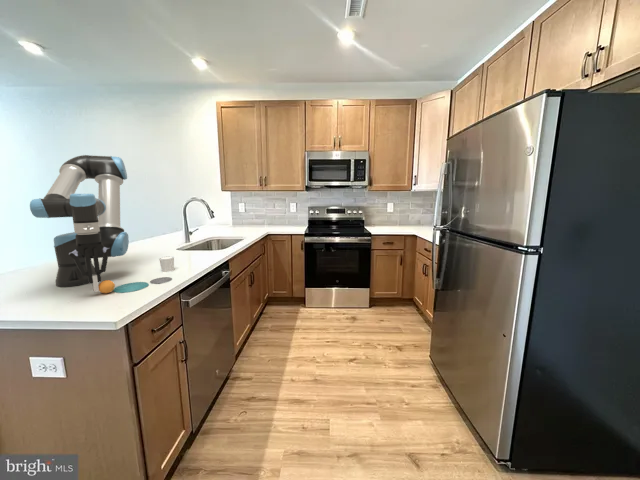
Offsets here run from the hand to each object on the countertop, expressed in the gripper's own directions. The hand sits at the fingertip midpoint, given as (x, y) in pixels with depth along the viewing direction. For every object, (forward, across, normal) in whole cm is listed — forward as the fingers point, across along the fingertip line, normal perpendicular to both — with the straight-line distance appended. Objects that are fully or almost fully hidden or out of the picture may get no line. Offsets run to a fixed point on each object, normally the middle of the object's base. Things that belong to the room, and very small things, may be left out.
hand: (96, 290), depth 109 cm
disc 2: (+2, +24, 0) cm, 24 cm away
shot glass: (+2, +32, +16) cm, 36 cm away
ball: (-1, +3, 0) cm, 3 cm away
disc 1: (+2, +12, 0) cm, 12 cm away
